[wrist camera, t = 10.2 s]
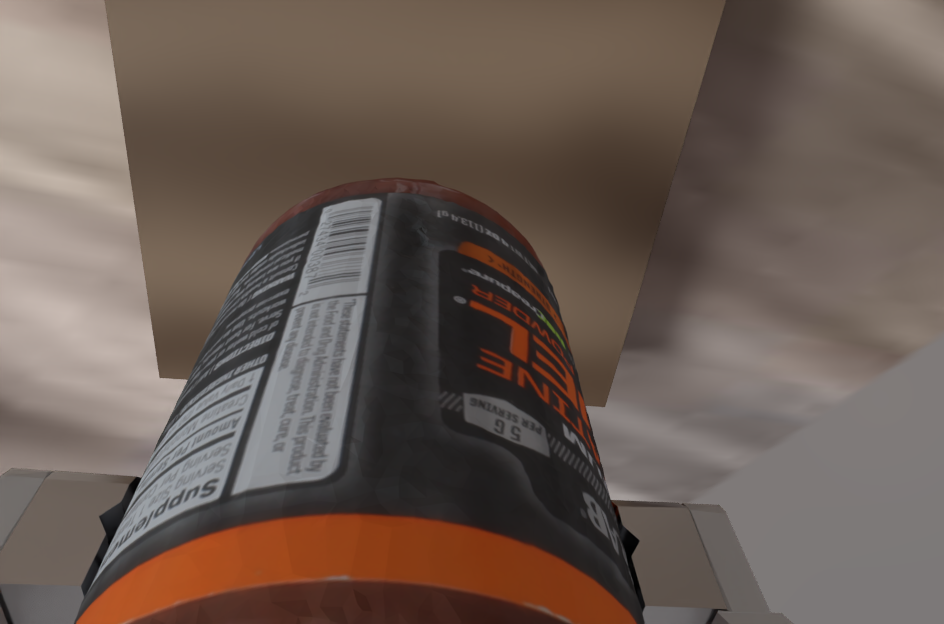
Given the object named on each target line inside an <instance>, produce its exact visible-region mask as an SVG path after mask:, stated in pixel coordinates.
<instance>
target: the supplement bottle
mask: <svg viewBox="0 0 944 624" xmlns="http://www.w3.org/2000/svg"><path fill="white" fill-rule="evenodd" d="M74 624H645V621H644V617H643V613H642V609H641V606H640V603H639V600H638V597H637V594H636V591H635V588H634V583H633V580H632V576H631V573H630V570H629V567H628V562H627V558H626V553H625V549H624V546H623V543H622V539H621V536H620V532H619V529H618V525H617V518H616V515H615V512H614V509H613V506H612V503H611V500H610V496H609V492H608V489H607V485H606V482H605V477H604V472H603V468H602V464H601V462H600V457H599V453H598V450H597V446H596V443H595V440H594V436H593V432H592V427H591V424H590V420H589V416H588V414H587V411H586V406H585V402H584V398H583V394H582V390H581V387H580V381H579V377H578V372H577V369H576V367H575V362H574V358H573V355H572V352H571V349H570V345H569V340H568V334H567V331H566V328H565V325H564V323H563V320H562V316H561V313H560V307H559V304H558V301H557V299H556V296H555V294H554V289H553V286H552V284H551V283H550V281H549V279H548V276H547V273H546V270H545V269H544V267H543V265H542V263H541V261H540V260H539V258H538V256H537V254H536V252H535V251H534V249H533V247H532V246H531V245H530V243H529V242H528V240H527V239H526V238H525V237H524V236H523V235H522V234H521V233H520V232H519V231H518V230H517V229H516V228H515V227H514V226H513V225H512V224H511V223H510V222H509V221H508V220H506V219H505V218H504V217H503V216H501V215H500V214H499V213H498V212H497V211H495V210H494V209H492V208H491V207H489V206H488V205H486V204H484V203H482V202H480V201H479V200H477V199H475V198H473V197H471V196H469V195H467V194H464V193H462V192H460V191H458V190H455V189H451V188H446V187H444V186H441V185H439V184H437V183H436V182H434V181H430V180H423V179H407V178H382V179H374V180H365V181H356V182H351V183H345V184H342V185H339V186H336V187H333V188H330V189H326V190H324V191H321V192H318V193H316V194H314V195H312V196H311V197H309V198H307V199H305V200H303V201H301V202H300V203H298V204H296V205H295V206H293V207H292V208H290V209H289V210H288V211H286V212H285V213H284V214H283V215H282V216H280V217H279V218H278V219H277V220H276V221H275V222H273V223H272V224H271V225H270V227H269V228H268V229H267V230H266V231H265V232H264V233H263V234H262V235H261V236H260V238H259V239H258V240H257V242H256V243H255V245H254V246H253V248H252V250H251V251H250V253H249V255H248V256H247V258H246V260H245V262H244V264H243V266H242V268H241V270H240V272H239V273H238V275H237V277H236V279H235V280H234V282H233V284H232V286H231V288H230V291H229V293H228V295H227V297H226V300H225V302H224V304H223V306H222V308H221V310H220V312H219V314H218V316H217V319H216V321H215V323H214V325H213V327H212V329H211V332H210V334H209V336H208V338H207V340H206V342H205V344H204V346H203V349H202V350H201V352H200V354H199V357H198V359H197V361H196V363H195V365H194V367H193V370H192V372H191V374H190V376H189V379H188V381H187V383H186V385H185V387H184V389H183V391H182V393H181V395H180V397H179V399H178V401H177V403H176V406H175V409H174V411H173V412H172V414H171V416H170V419H169V421H168V423H167V425H166V427H165V429H164V431H163V433H162V434H161V436H160V438H159V440H158V443H157V445H156V448H155V450H154V453H153V455H152V457H151V459H150V461H149V463H148V465H147V468H146V470H145V472H144V474H143V477H142V479H141V481H140V483H139V485H138V487H137V489H136V491H135V494H134V496H133V498H132V500H131V502H130V504H129V507H128V509H127V511H126V513H125V515H124V517H123V519H122V521H121V524H120V526H119V528H118V529H117V531H116V533H115V536H114V538H113V540H112V542H111V544H110V546H109V548H108V550H107V552H106V554H105V557H104V559H103V561H102V563H101V565H100V568H99V570H98V572H97V574H96V577H95V579H94V581H93V583H92V585H91V587H90V589H89V591H88V592H87V594H86V596H85V597H84V599H83V601H82V603H81V605H80V608H79V611H78V614H77V617H76V619H75V622H74Z"/></svg>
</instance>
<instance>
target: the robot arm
mask: <svg viewBox="0 0 944 624" xmlns="http://www.w3.org/2000/svg"><path fill="white" fill-rule="evenodd" d="M141 479H142V478H139V477H133V476H120V475H107V474H94V473H80V472H67V471H47V470H33V469H18V468H11V469H10V470H9V471H7V472H6V473H4V474H3V475H2V476H0V624H74V622H75V619H76V617H77V614H78V611H79V608H80V605H81V603H82V601H83V599H84V597H85V596H86V594H87V592H88V591H89V589H90V587H91V585H92V583H93V581H94V579H95V577H96V574H97V572H98V570H99V568H100V565H101V563H102V561H103V559H104V557H105V554H106V552H107V550H108V548H109V546H110V544H111V542H112V540H113V538H114V536H115V533H116V531H117V529H118V528H119V526H120V524H121V521H122V519H123V517H124V515H125V513H126V511H127V509H128V507H129V504H130V502H131V500H132V498H133V496H134V494H135V491H136V489H137V487H138V485H139V483H140V481H141ZM611 503H612V506H613V509H614V512H615V515H616V518H617V525H618V529H619V532H620V536H621V539H622V543H623V546H624V549H625V553H626V558H627V562H628V567H629V570H630V573H631V576H632V580H633V583H634V588H635V591H636V594H637V597H638V600H639V603H640V606H641V609H642V613H643V617H644V621H645V624H793V623H792V622H791V621H790V620H789V619H788V618H787V617H786V616H784V615H783V614H782V613H772V612H770V610H769V607H768V605H767V603H766V601H765V598H764V596H763V594H762V592H761V590H760V588H759V585H758V583H757V581H756V578H755V576H754V574H753V572H752V570H751V567H750V565H749V563H748V561H747V558H746V556H745V554H744V552H743V550H742V547H741V545H740V543H739V541H738V538H737V536H736V534H735V532H734V529H733V527H732V525H731V523H730V520H729V518H728V516H727V514H726V511H725V510H724V509H723V508H722V507H721V506H720V505H709V504H688V503H683V504H680V503H674V502H648V501H623V500H611Z"/></svg>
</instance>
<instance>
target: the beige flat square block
mask: <svg viewBox="0 0 944 624" xmlns="http://www.w3.org/2000/svg"><path fill="white" fill-rule="evenodd" d="M725 2H726V0H105V5H106V12H107V19H108V26H109V33H110V40H111V47H112V53H113V60H114V67H115V74H116V81H117V88H118V95H119V102H120V108H121V115H122V122H123V129H124V136H125V143H126V150H127V157H128V163H129V170H130V177H131V184H132V191H133V198H134V205H135V212H136V218H137V225H138V232H139V239H140V246H141V253H142V260H143V267H144V273H145V280H146V287H147V294H148V301H149V308H150V315H151V322H152V328H153V335H154V342H155V349H156V356H157V363H158V370H159V377H160V378H171V379H186V380H188V379H189V376H190V374H191V372H192V370H193V367H194V365H195V363H196V361H197V359H198V357H199V354H200V352H201V350H202V349H203V346H204V344H205V342H206V340H207V338H208V336H209V334H210V332H211V329H212V327H213V325H214V323H215V321H216V319H217V316H218V314H219V312H220V310H221V308H222V306H223V304H224V302H225V300H226V297H227V295H228V293H229V291H230V288H231V286H232V284H233V282H234V280H235V279H236V277H237V275H238V273H239V272H240V270H241V268H242V266H243V264H244V262H245V260H246V258H247V256H248V255H249V253H250V251H251V250H252V248H253V246H254V245H255V243H256V242H257V240H258V239H259V238H260V236H261V235H262V234H263V233H264V232H265V231H266V230H267V229H268V228H269V227H270V225H271V224H272V223H273V222H275V221H276V220H277V219H278V218H279V217H280V216H282V215H283V214H284V213H285V212H286V211H288V210H289V209H290V208H292V207H293V206H295V205H296V204H298V203H300V202H301V201H303V200H305V199H307V198H309V197H311V196H312V195H314V194H316V193H318V192H321V191H324V190H326V189H330V188H333V187H336V186H339V185H342V184H345V183H351V182H356V181H365V180H374V179H382V178H407V179H423V180H430V181H434V182H436V183H437V184H439V185H441V186H444V187H446V188H451V189H455V190H458V191H460V192H462V193H464V194H467V195H469V196H471V197H473V198H475V199H477V200H479V201H480V202H482V203H484V204H486V205H488V206H489V207H491V208H492V209H494V210H495V211H497V212H498V213H499V214H500V215H501V216H503V217H504V218H505V219H506V220H508V221H509V222H510V223H511V224H512V225H513V226H514V227H515V228H516V229H517V230H518V231H519V232H520V233H521V234H522V235H523V236H524V237H525V238H526V239H527V240H528V242H529V243H530V245H531V246H532V247H533V249H534V251H535V252H536V254H537V256H538V258H539V260H540V261H541V263H542V265H543V267H544V269H545V270H546V273H547V276H548V279H549V281H550V283H551V284H552V286H553V289H554V294H555V296H556V299H557V301H558V304H559V307H560V313H561V316H562V320H563V323H564V325H565V328H566V331H567V334H568V340H569V345H570V349H571V352H572V355H573V358H574V362H575V367H576V369H577V372H578V377H579V381H580V387H581V390H582V394H583V398H584V402H585V406H599V407H605V405H606V402H607V398H608V395H609V392H610V388H611V385H612V382H613V378H614V375H615V372H616V368H617V365H618V362H619V358H620V355H621V351H622V348H623V345H624V341H625V338H626V335H627V331H628V328H629V325H630V321H631V318H632V315H633V311H634V308H635V304H636V301H637V298H638V294H639V291H640V288H641V284H642V281H643V278H644V274H645V271H646V268H647V264H648V261H649V257H650V254H651V251H652V247H653V244H654V241H655V237H656V234H657V231H658V227H659V224H660V221H661V217H662V214H663V211H664V207H665V204H666V200H667V197H668V194H669V190H670V187H671V184H672V180H673V177H674V174H675V170H676V167H677V164H678V160H679V157H680V153H681V150H682V147H683V143H684V140H685V137H686V133H687V130H688V127H689V123H690V120H691V117H692V113H693V110H694V106H695V103H696V100H697V96H698V93H699V90H700V86H701V83H702V80H703V76H704V73H705V70H706V66H707V63H708V59H709V56H710V53H711V49H712V46H713V43H714V39H715V36H716V33H717V29H718V26H719V23H720V19H721V16H722V12H723V9H724V6H725Z"/></svg>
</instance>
